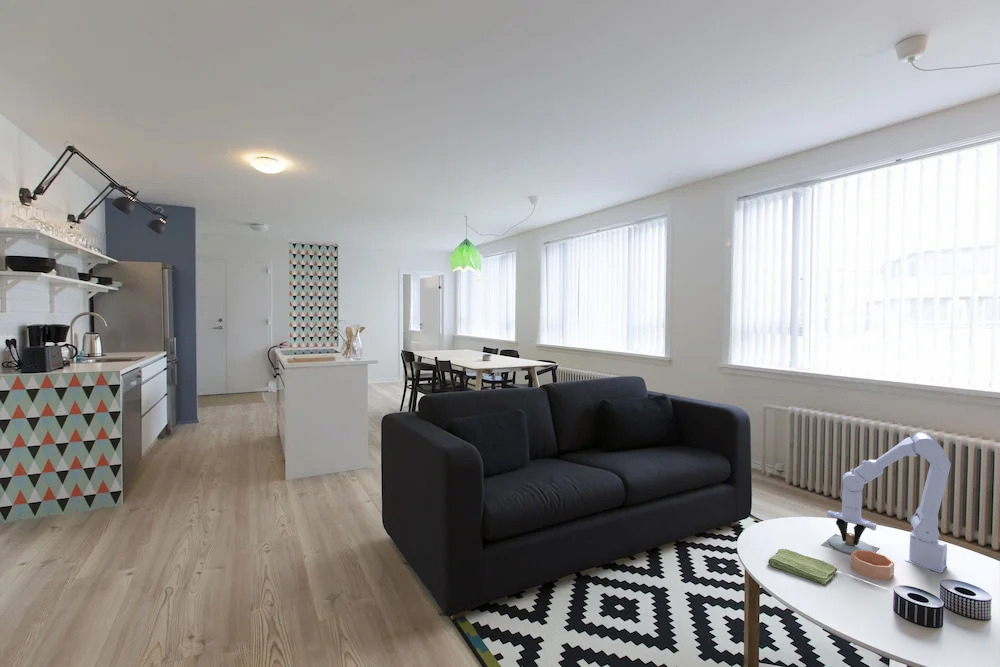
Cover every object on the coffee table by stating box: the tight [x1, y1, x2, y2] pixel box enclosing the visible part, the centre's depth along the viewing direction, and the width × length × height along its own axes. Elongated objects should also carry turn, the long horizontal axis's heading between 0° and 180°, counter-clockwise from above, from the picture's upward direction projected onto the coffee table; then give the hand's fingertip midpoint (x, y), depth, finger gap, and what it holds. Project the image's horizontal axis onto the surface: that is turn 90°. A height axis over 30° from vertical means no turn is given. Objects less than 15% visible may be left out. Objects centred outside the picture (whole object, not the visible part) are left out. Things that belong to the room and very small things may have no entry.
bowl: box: [850, 550, 895, 581], centre depth 162 cm, size 11×11×4 cm
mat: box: [821, 533, 881, 556], centre depth 178 cm, size 14×14×1 cm
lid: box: [828, 532, 873, 555], centre depth 178 cm, size 13×13×4 cm
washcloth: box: [767, 548, 838, 586], centre depth 164 cm, size 13×18×3 cm
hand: (850, 542), depth 178 cm, fingers closed on lid, 3 cm apart
